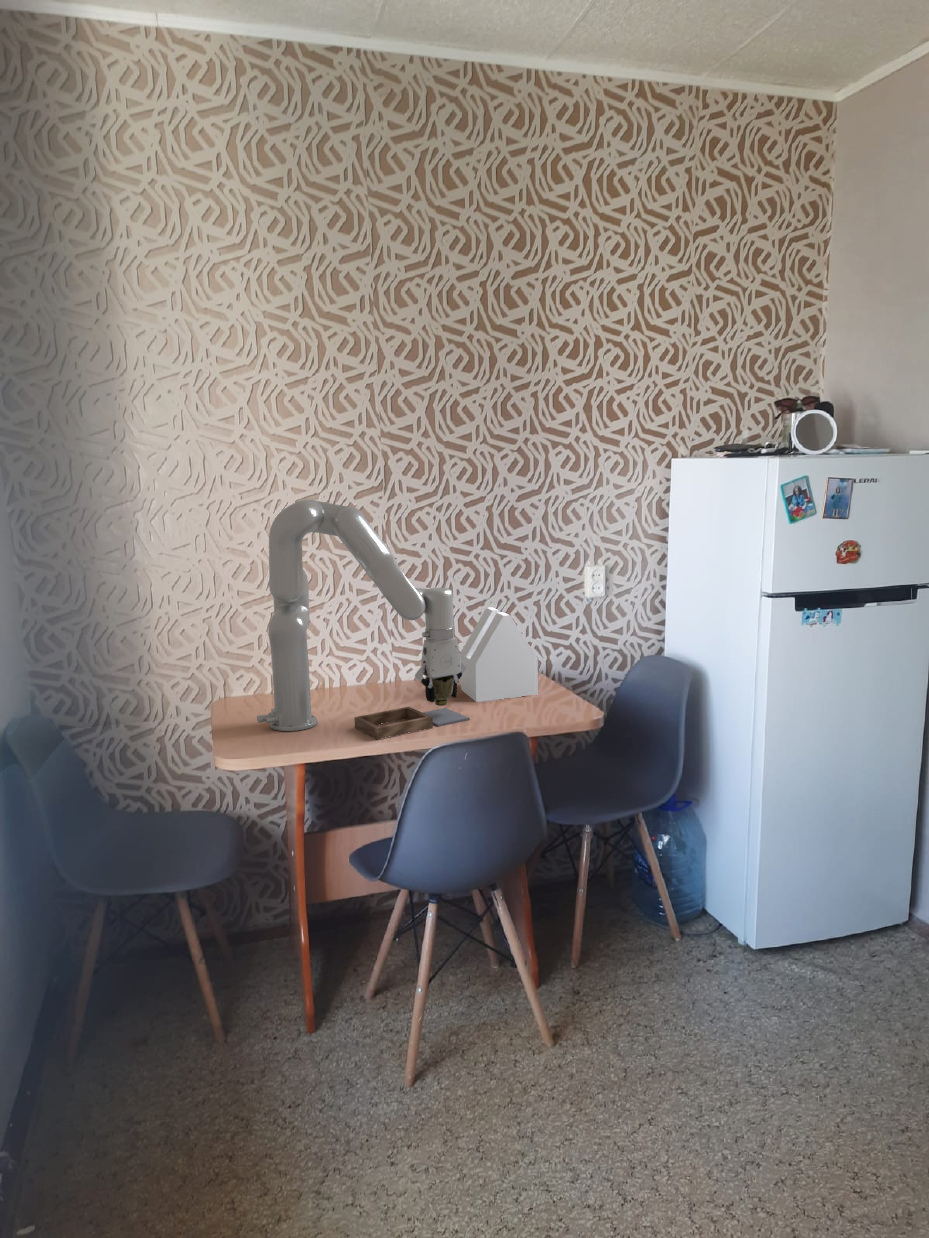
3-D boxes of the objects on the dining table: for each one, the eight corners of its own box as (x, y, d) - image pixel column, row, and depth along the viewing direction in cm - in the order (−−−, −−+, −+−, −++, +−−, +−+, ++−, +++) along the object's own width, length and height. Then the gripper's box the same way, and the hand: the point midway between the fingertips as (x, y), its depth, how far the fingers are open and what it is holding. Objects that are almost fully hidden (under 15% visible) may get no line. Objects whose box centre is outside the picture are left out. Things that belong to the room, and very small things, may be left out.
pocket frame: (377, 740, 212) (376, 728, 211) (355, 728, 222) (354, 717, 222) (432, 728, 221) (432, 717, 220) (408, 717, 231) (408, 706, 231)
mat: (438, 726, 222) (438, 724, 222) (414, 716, 232) (414, 714, 232) (469, 719, 228) (469, 717, 228) (445, 709, 237) (445, 707, 237)
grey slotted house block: (476, 702, 245) (475, 617, 241) (460, 689, 259) (459, 609, 255) (537, 696, 250) (537, 613, 246) (519, 683, 265) (518, 605, 261)
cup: (431, 709, 225) (430, 680, 223) (424, 702, 232) (423, 674, 230) (458, 706, 227) (457, 678, 225) (450, 699, 234) (450, 671, 232)
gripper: (419, 640, 218) (421, 707, 221) (474, 632, 227) (475, 696, 231) (404, 636, 224) (407, 701, 227) (459, 628, 233) (460, 690, 237)
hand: (441, 698), depth 229 cm, fingers closed on cup, 6 cm apart
